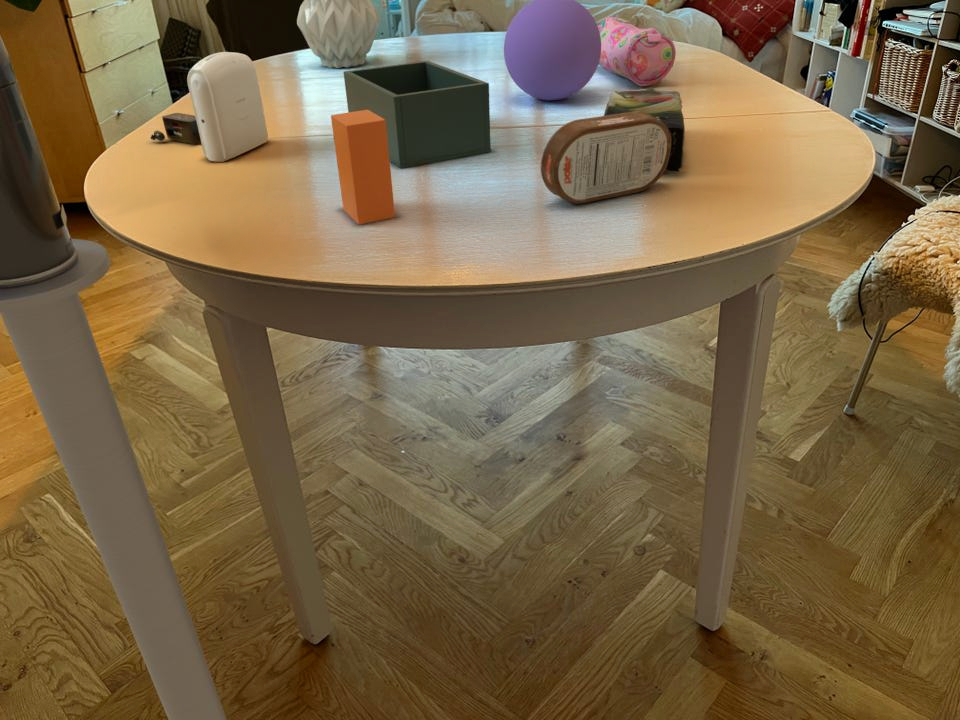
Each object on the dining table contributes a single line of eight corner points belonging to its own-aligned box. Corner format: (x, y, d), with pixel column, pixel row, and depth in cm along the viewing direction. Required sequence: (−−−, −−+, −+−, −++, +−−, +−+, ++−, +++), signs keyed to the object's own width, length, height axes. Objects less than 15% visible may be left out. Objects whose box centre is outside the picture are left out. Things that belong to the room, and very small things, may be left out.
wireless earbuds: (178, 134, 110) (173, 111, 109) (210, 140, 107) (205, 117, 105) (151, 142, 107) (145, 119, 105) (183, 149, 104) (177, 125, 102)
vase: (329, 76, 143) (314, -34, 133) (289, 65, 154) (273, -37, 144) (400, 63, 152) (391, -41, 142) (357, 54, 163) (346, -44, 153)
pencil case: (583, 67, 142) (585, 14, 138) (629, 63, 144) (633, 11, 139) (622, 91, 124) (626, 31, 120) (675, 86, 126) (680, 28, 121)
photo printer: (226, 163, 97) (205, 62, 91) (199, 161, 99) (176, 60, 92) (274, 142, 105) (257, 47, 99) (248, 139, 107) (230, 46, 100)
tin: (654, 180, 86) (661, 104, 81) (672, 188, 83) (680, 110, 79) (538, 204, 81) (539, 123, 76) (553, 213, 78) (554, 130, 74)
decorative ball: (573, 85, 129) (575, -13, 122) (615, 103, 117) (622, -4, 109) (491, 94, 125) (488, -6, 117) (526, 115, 113) (526, 5, 105)
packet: (358, 224, 77) (346, 125, 72) (343, 210, 81) (330, 114, 76) (395, 217, 79) (385, 119, 74) (378, 203, 83) (368, 109, 77)
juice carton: (604, 128, 105) (607, 82, 101) (677, 130, 103) (682, 83, 100) (595, 176, 88) (598, 123, 85) (682, 179, 86) (689, 125, 83)
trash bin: (400, 168, 93) (393, 96, 88) (350, 134, 107) (343, 71, 103) (490, 151, 98) (489, 83, 93) (432, 121, 112) (428, 60, 107)
